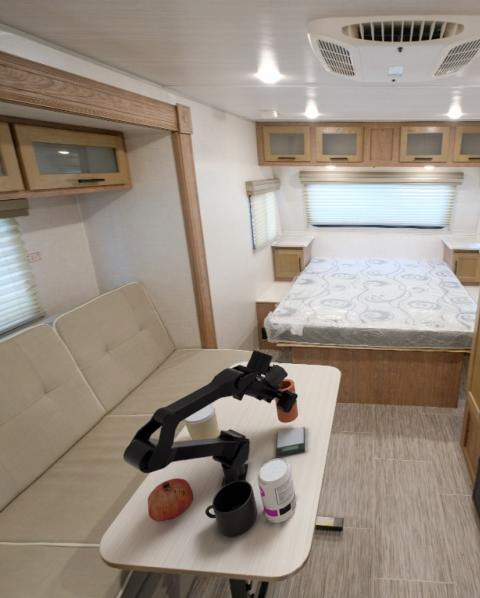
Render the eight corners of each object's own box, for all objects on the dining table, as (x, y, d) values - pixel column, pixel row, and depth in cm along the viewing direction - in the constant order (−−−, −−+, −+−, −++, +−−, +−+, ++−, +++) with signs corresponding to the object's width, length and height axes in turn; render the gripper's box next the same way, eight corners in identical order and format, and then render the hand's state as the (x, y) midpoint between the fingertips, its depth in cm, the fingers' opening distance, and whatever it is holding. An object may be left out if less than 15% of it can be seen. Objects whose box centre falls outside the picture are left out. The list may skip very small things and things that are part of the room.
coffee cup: (227, 430, 120) (220, 403, 116) (211, 451, 112) (203, 422, 107) (202, 428, 121) (194, 401, 117) (184, 449, 113) (175, 420, 108)
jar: (288, 425, 114) (284, 393, 110) (273, 419, 117) (268, 387, 112) (302, 413, 120) (298, 382, 115) (287, 407, 123) (283, 377, 118)
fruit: (204, 495, 97) (196, 469, 93) (182, 530, 88) (173, 503, 84) (167, 494, 98) (158, 468, 94) (142, 529, 88) (131, 501, 85)
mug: (214, 508, 94) (207, 484, 90) (260, 500, 96) (255, 477, 92) (203, 543, 85) (195, 518, 82) (254, 534, 87) (248, 509, 84)
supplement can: (264, 528, 89) (255, 487, 83) (266, 500, 96) (258, 460, 90) (296, 520, 91) (289, 479, 85) (296, 493, 98) (290, 453, 92)
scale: (305, 451, 112) (304, 447, 111) (276, 457, 110) (275, 452, 109) (304, 430, 121) (304, 425, 120) (278, 435, 119) (277, 430, 118)
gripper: (289, 373, 102) (319, 385, 115) (251, 354, 112) (283, 368, 124) (270, 408, 99) (303, 417, 112) (233, 386, 109) (267, 397, 121)
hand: (289, 398), depth 117 cm, fingers closed on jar, 7 cm apart
